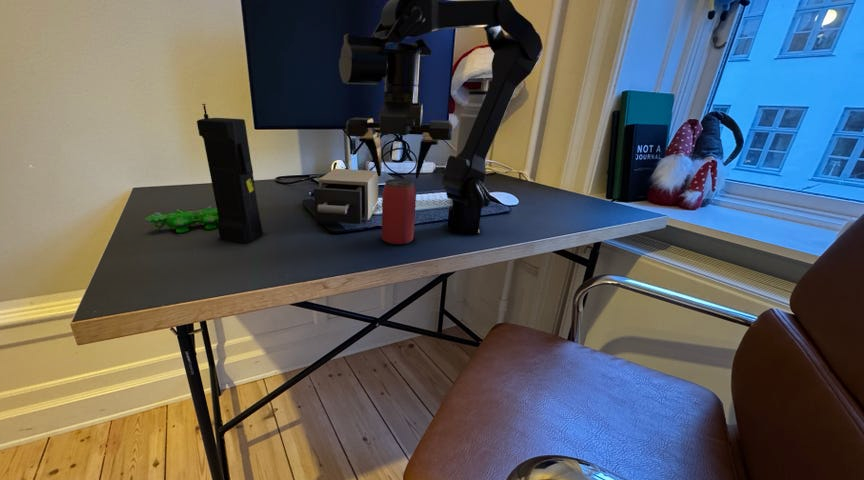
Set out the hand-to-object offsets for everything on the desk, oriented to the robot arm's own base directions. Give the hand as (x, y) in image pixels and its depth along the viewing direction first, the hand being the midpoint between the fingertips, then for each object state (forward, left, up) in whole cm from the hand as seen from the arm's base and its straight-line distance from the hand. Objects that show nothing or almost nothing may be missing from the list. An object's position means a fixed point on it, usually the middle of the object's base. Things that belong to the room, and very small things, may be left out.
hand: (398, 176), depth 70 cm
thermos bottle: (-15, -32, -13) cm, 38 cm away
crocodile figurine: (+44, +2, -13) cm, 46 cm away
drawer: (+14, -9, -12) cm, 21 cm away
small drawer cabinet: (+14, -17, -13) cm, 26 cm away
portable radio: (+31, +5, -13) cm, 34 cm away
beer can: (0, 0, -13) cm, 13 cm away
